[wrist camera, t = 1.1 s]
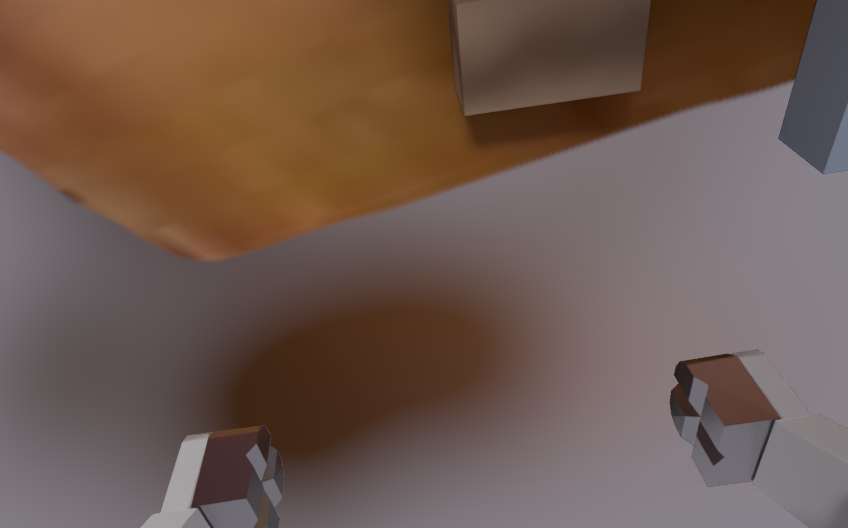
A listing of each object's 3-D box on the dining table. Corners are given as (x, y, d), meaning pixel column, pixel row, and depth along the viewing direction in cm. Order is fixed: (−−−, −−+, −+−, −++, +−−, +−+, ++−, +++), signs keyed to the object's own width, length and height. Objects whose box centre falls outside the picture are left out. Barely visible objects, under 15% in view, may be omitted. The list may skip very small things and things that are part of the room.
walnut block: (445, -17, 33) (456, 4, 29) (622, -43, 33) (653, -25, 29) (454, 86, 37) (464, 116, 33) (613, 63, 37) (640, 90, 33)
